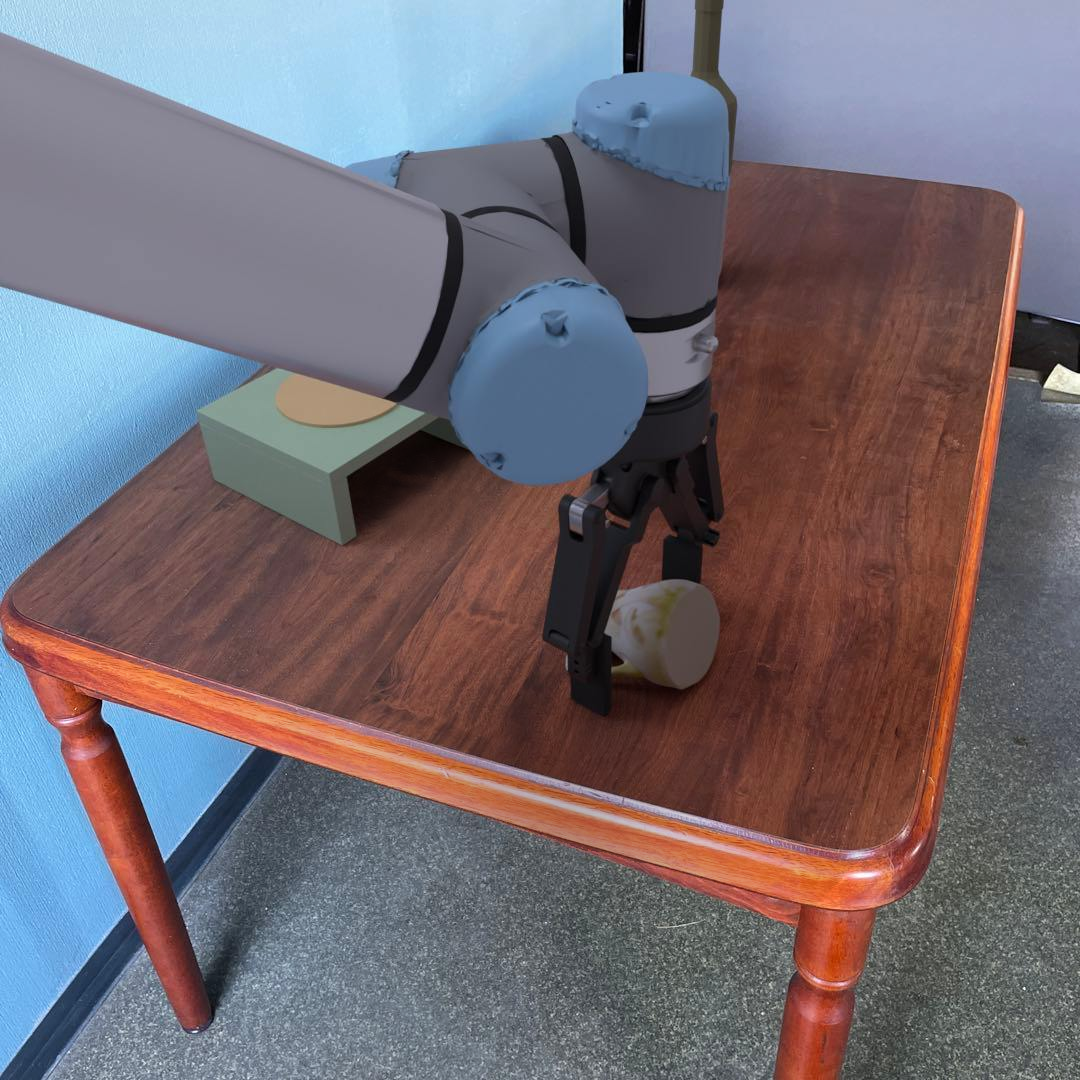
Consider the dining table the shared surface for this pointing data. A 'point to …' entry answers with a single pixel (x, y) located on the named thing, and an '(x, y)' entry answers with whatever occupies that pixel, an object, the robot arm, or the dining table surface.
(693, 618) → the mug
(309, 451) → the shelf
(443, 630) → the dining table surface
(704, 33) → the bottle
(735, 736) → the dining table surface
